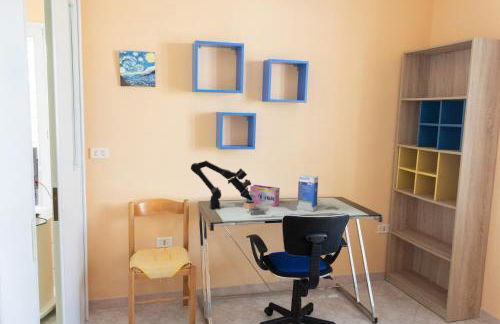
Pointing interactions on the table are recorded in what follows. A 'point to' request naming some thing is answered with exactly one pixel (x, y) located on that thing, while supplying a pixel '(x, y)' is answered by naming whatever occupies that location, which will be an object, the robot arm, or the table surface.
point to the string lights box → (307, 192)
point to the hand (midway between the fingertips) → (251, 198)
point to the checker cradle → (256, 211)
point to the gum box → (265, 195)
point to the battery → (251, 197)
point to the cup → (249, 205)
